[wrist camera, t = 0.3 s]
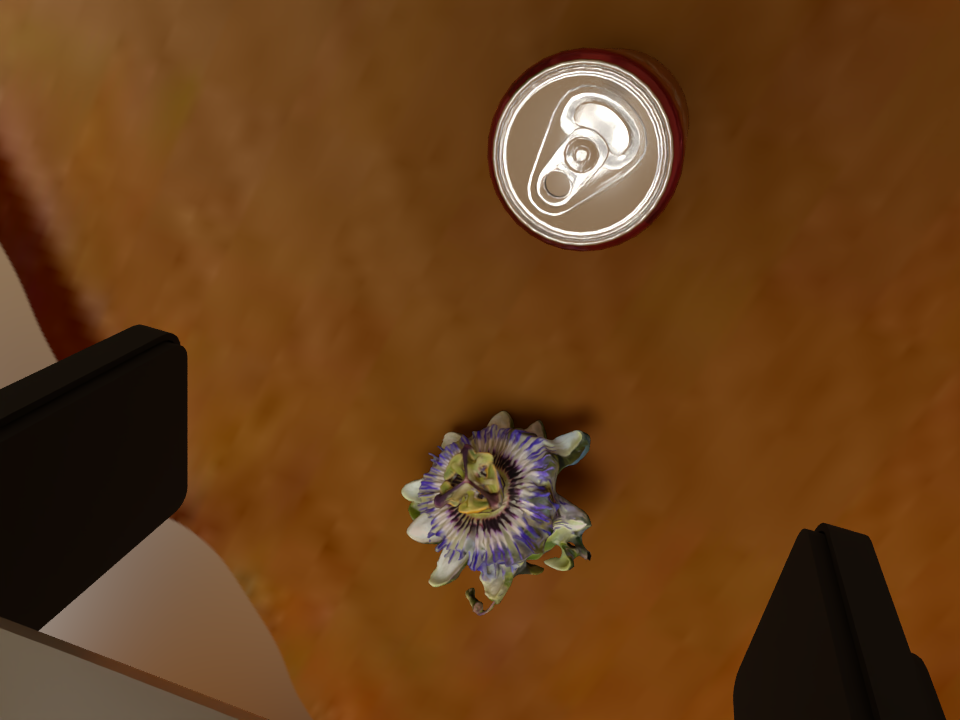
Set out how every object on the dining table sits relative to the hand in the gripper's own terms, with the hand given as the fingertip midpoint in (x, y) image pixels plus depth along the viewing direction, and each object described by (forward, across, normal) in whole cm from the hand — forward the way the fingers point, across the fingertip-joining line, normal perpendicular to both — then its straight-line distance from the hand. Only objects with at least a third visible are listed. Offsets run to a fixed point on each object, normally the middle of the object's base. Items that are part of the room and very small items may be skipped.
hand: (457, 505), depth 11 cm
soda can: (+31, +2, -3) cm, 31 cm away
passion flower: (+31, +2, +19) cm, 37 cm away
